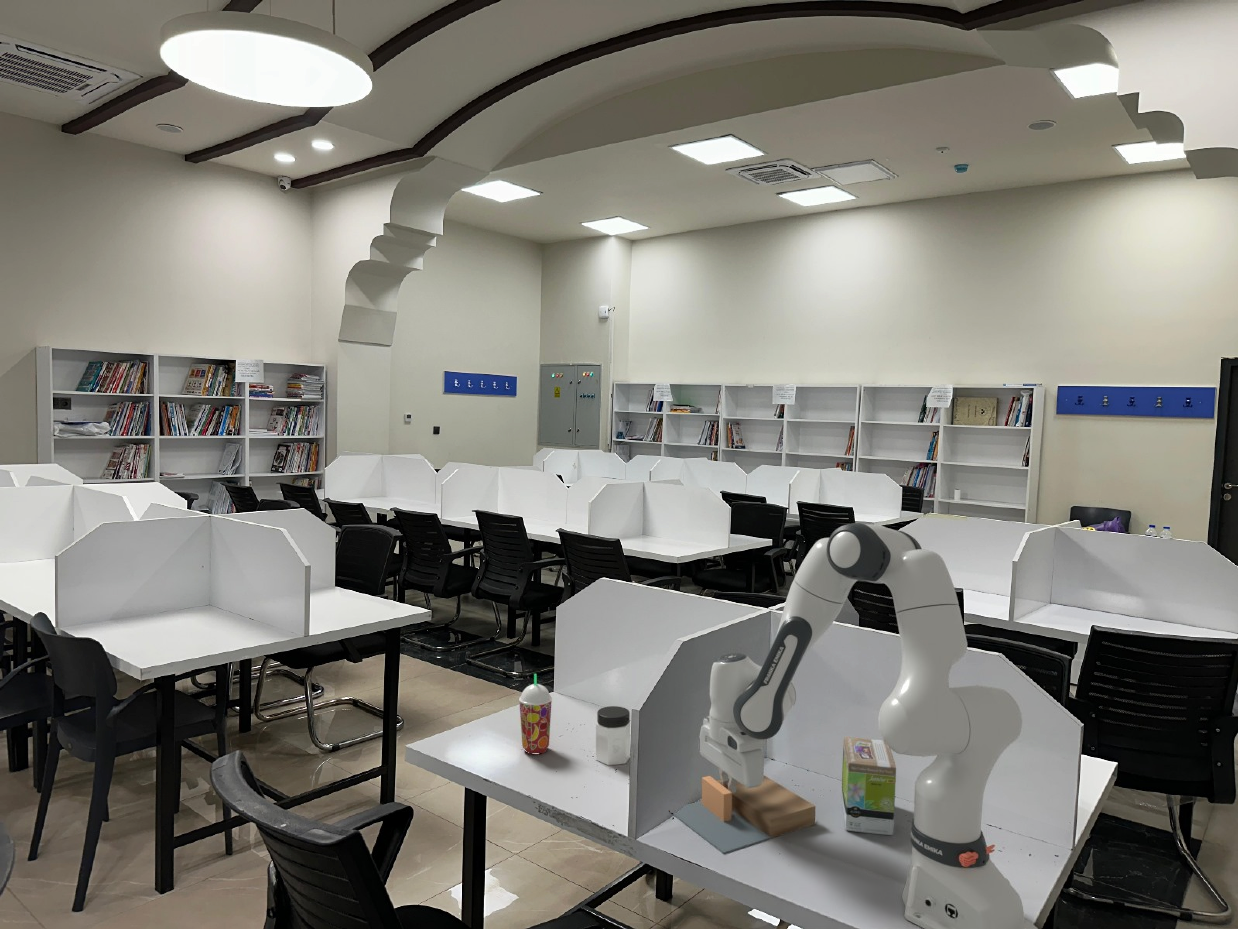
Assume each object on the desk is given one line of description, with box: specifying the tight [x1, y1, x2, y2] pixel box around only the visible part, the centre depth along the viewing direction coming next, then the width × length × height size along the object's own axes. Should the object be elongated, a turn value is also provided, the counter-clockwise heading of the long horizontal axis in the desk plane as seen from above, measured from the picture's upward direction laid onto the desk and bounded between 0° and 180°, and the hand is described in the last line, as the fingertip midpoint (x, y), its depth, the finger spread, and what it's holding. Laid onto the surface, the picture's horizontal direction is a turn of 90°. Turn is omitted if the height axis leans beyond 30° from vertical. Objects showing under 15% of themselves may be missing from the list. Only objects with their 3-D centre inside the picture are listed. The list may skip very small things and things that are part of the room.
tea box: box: [841, 736, 897, 836], centre depth 180 cm, size 15×10×15 cm
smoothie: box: [518, 673, 553, 754], centre depth 215 cm, size 8×8×20 cm
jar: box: [595, 705, 631, 766], centre depth 210 cm, size 9×8×12 cm
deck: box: [716, 775, 816, 839], centre depth 183 cm, size 20×12×4 cm, turn 30°
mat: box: [673, 800, 772, 855], centre depth 177 cm, size 20×12×1 cm, turn 30°
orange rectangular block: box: [701, 775, 732, 822], centre depth 182 cm, size 9×6×2 cm
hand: (728, 790), depth 182 cm, fingers closed
